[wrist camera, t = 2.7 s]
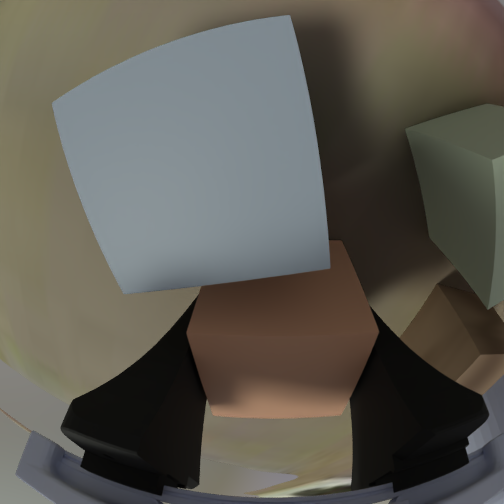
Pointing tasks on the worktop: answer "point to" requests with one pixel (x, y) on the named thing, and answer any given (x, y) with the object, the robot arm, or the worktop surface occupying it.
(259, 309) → the terracotta cube
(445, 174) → the sage cube
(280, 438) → the worktop surface
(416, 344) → the walnut cube
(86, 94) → the slate cube
